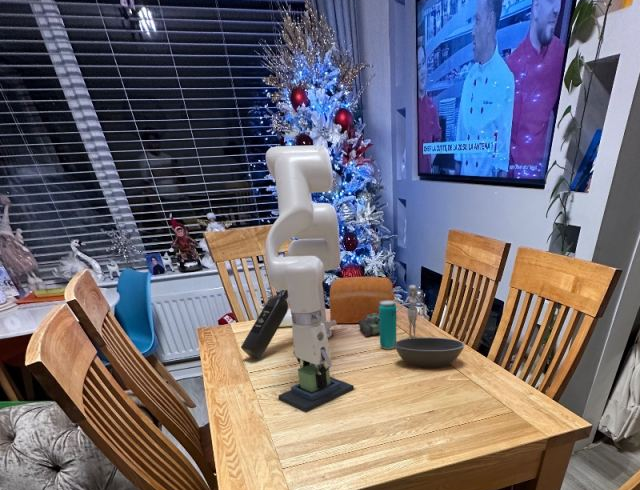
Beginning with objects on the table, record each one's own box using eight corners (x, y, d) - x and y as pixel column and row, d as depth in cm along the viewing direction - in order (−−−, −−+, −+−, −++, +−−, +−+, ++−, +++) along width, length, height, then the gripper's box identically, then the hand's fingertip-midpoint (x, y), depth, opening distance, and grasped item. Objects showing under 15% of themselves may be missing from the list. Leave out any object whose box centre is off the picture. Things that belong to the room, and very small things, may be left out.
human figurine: (396, 341, 155) (395, 287, 144) (395, 337, 158) (394, 284, 147) (429, 339, 156) (431, 285, 144) (427, 336, 159) (429, 283, 147)
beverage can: (399, 345, 152) (398, 300, 142) (392, 351, 148) (391, 305, 138) (384, 343, 154) (383, 299, 144) (377, 348, 150) (375, 303, 140)
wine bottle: (250, 350, 139) (293, 275, 143) (239, 347, 142) (281, 273, 146) (261, 360, 144) (302, 287, 148) (249, 357, 147) (290, 285, 151)
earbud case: (271, 321, 178) (269, 308, 174) (303, 319, 179) (301, 306, 175) (269, 329, 170) (267, 315, 166) (302, 327, 171) (300, 313, 167)
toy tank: (383, 326, 169) (383, 307, 165) (392, 335, 160) (392, 316, 156) (358, 329, 167) (357, 310, 163) (366, 338, 158) (365, 319, 154)
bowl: (463, 371, 132) (465, 351, 129) (392, 370, 135) (392, 350, 131) (462, 356, 142) (464, 337, 138) (396, 355, 144) (396, 337, 140)
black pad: (326, 378, 131) (325, 369, 129) (353, 389, 125) (353, 380, 123) (278, 399, 121) (276, 390, 119) (306, 411, 114) (304, 402, 113)
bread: (394, 323, 171) (394, 280, 161) (329, 324, 172) (325, 282, 162) (395, 313, 182) (394, 272, 172) (333, 314, 183) (330, 274, 173)
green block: (319, 379, 124) (317, 361, 121) (330, 384, 122) (328, 365, 118) (300, 387, 120) (297, 369, 117) (312, 392, 118) (309, 373, 114)
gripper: (340, 319, 107) (346, 387, 118) (297, 308, 116) (306, 372, 127) (317, 327, 103) (325, 397, 114) (274, 314, 112) (286, 380, 123)
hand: (315, 383), depth 121 cm, fingers closed on green block, 5 cm apart
